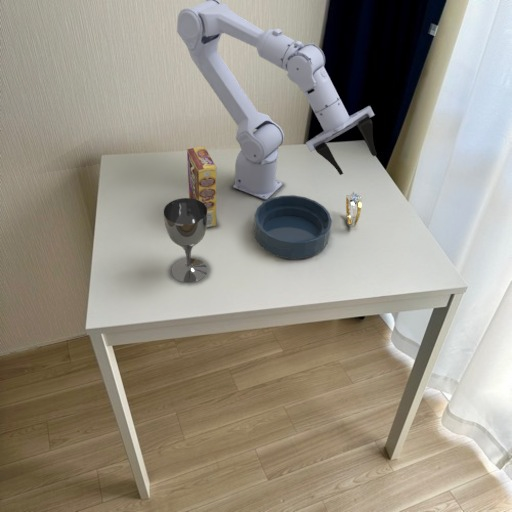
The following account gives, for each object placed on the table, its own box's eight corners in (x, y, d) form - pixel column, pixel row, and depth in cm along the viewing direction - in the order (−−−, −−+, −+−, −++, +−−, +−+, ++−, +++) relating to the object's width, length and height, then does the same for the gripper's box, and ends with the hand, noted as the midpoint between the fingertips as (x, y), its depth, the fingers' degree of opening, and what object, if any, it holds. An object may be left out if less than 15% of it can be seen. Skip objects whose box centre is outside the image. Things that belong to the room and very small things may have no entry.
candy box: (218, 226, 116) (217, 167, 105) (199, 229, 114) (196, 170, 104) (207, 203, 122) (205, 145, 111) (189, 206, 121) (185, 148, 110)
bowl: (240, 242, 112) (240, 224, 108) (277, 204, 122) (278, 187, 119) (307, 271, 106) (310, 252, 102) (340, 229, 116) (343, 211, 113)
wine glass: (170, 257, 107) (164, 198, 97) (209, 256, 108) (207, 197, 98) (168, 285, 102) (162, 224, 91) (209, 283, 102) (207, 224, 92)
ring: (358, 233, 115) (365, 204, 110) (344, 233, 115) (350, 204, 110) (353, 214, 120) (359, 185, 115) (340, 214, 120) (345, 185, 115)
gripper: (296, 126, 102) (329, 185, 106) (363, 86, 99) (394, 149, 103) (294, 123, 109) (325, 178, 112) (356, 86, 106) (386, 144, 110)
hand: (357, 164), depth 108 cm, fingers open, 7 cm apart
